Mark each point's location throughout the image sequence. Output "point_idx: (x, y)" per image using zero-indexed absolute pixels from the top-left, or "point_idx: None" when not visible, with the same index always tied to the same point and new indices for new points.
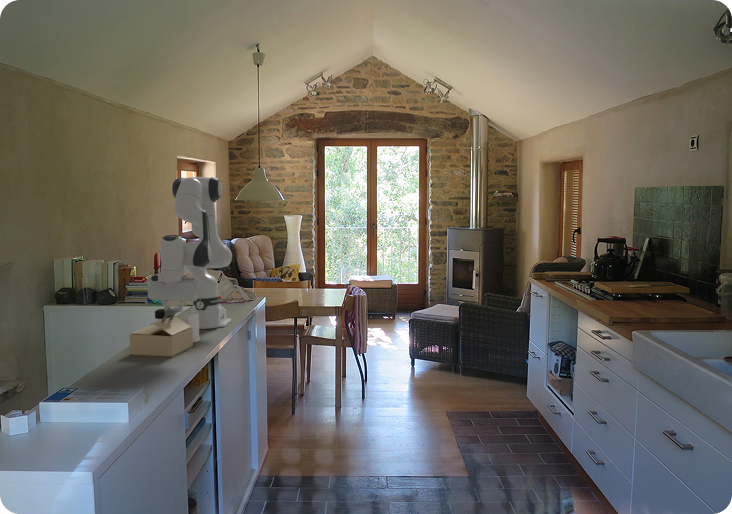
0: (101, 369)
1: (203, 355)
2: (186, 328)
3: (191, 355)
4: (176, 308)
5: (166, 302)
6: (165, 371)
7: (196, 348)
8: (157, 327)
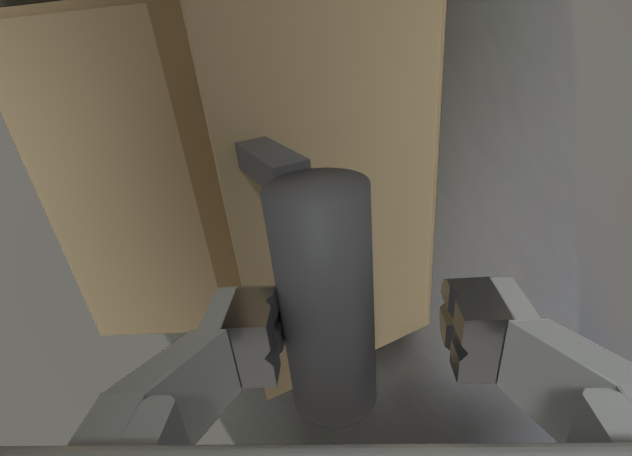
0: (234, 431)
1: (573, 171)
2: (435, 90)
3: (497, 190)
4: (358, 240)
5: (161, 386)
6: (484, 411)
7: (457, 16)
8: (117, 123)
